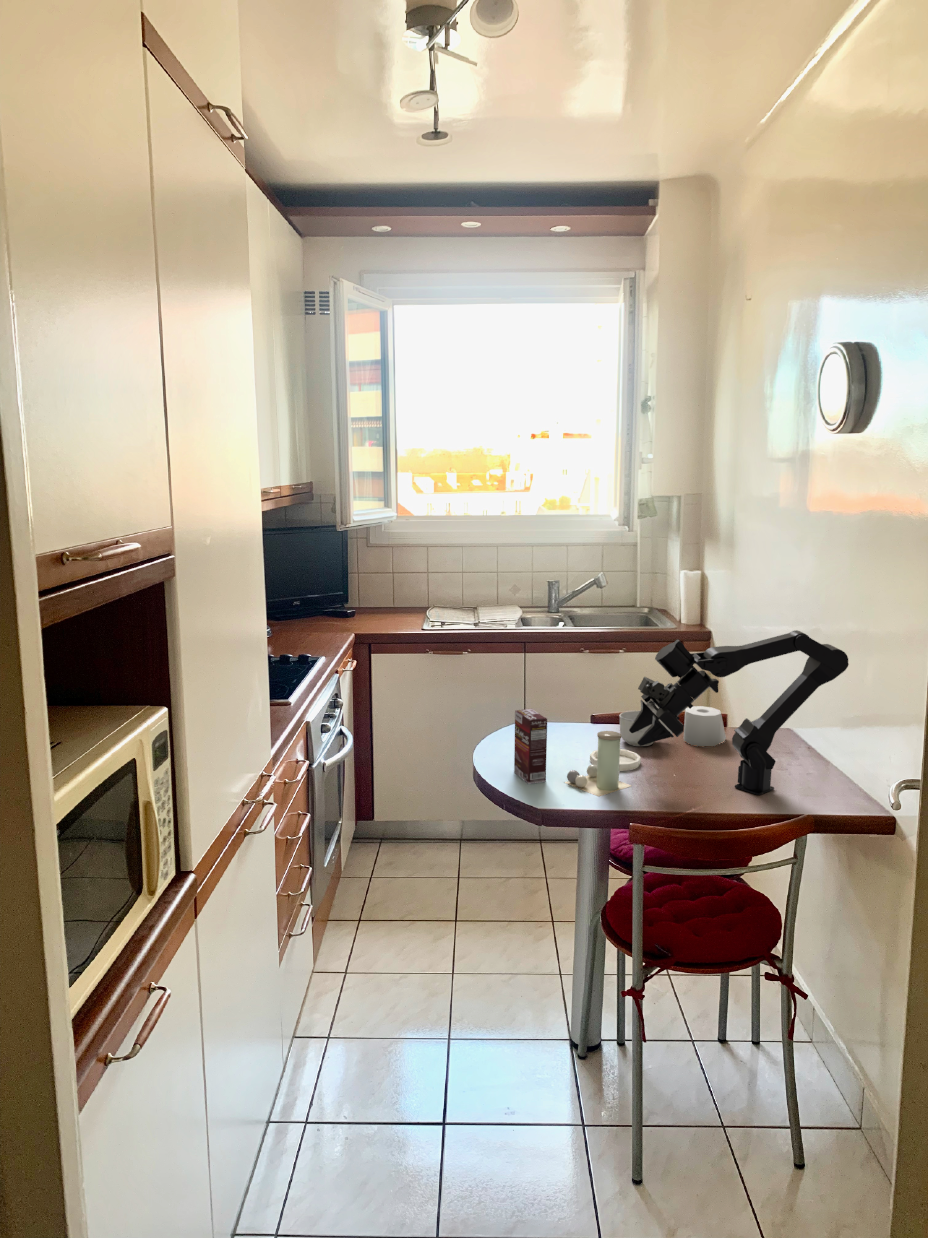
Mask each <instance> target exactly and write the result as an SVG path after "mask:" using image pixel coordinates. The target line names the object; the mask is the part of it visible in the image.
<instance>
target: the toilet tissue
mask: <svg viewBox="0 0 928 1238" xmlns="http://www.w3.org/2000/svg"><path fill="white" fill-rule="evenodd" d="M683 725H684V732H683V742H684V741H686V742H687V743H689V744H691V745H690V746H692V745H697V746H696V747H698V746H714V747H716V746H715V745H717V744H719V743H721V742H723V741H725V739H726V740H727V737H726V731H725V727H724V721H723V716H722V713H721V710H720V709H718V708H715V707H711V706H703V705H699V706H698V705H696V706H695V705H693V707H692V708H691V709H690V708H689V707H687V708H686V709H685V710H684V724H683ZM725 742H726V741H725ZM687 743H686V744H687ZM689 744H688V745H689ZM719 745H720V744H719ZM717 746H718V745H717Z"/></svg>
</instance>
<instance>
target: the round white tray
mask: <svg viewBox="0 0 928 1238" xmlns="http://www.w3.org/2000/svg"><path fill="white" fill-rule="evenodd" d="M589 754H590V755H589V762H590V763H591V765H596V766H597V756H598V749H596V750H593V751H592V752H591V753H589ZM641 762H642V761H641V756H640V754H638V753H637V752H633V751H631V750H628V749H622V748H620V762H619V772H622V771H625V772H626V771H631V770H635V769H637V768H639V766H640V764H641Z"/></svg>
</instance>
